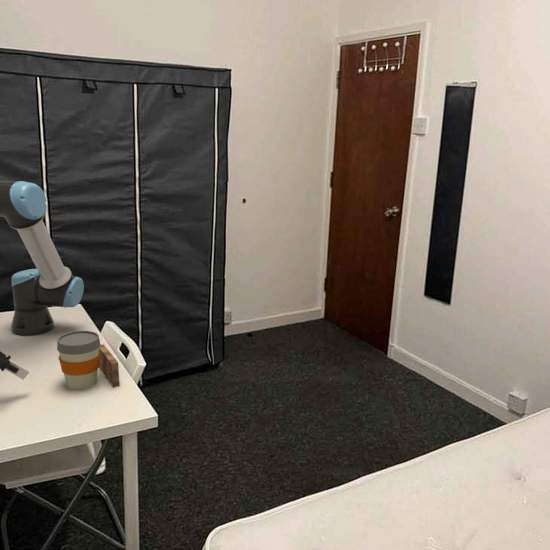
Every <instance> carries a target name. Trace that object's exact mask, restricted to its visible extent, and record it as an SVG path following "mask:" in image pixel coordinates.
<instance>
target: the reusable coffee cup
mask: <svg viewBox="0 0 550 550" xmlns="http://www.w3.org/2000/svg"><path fill="white" fill-rule="evenodd" d="M56 343H57V346H56V351H58V354H59V355H58V360H59V364H60V365H59V366H60V368H61V372H62V373H63V376H64V380H65V384H66V386H67V388H69V389H71V388H72V390H84V389H83V388H85V389H88V388H91V387H93V386H95V385H96V384H97V382H98V381H97V379H98V369H99V362H100V352H99V347H100V345H101V339H100V335H99V333H97V332H95V331H91V330H75V331H71V332H70V331H69V332H67V333H64V334H62V335H60V336H59V337H58V338H57V342H56ZM92 385H93V386H92ZM90 386H91V387H90ZM87 387H88V388H87Z"/></svg>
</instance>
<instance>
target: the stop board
mask: <svg viewBox="0 0 550 550" xmlns="http://www.w3.org/2000/svg"><path fill="white" fill-rule="evenodd" d="M99 352H100V362H99V368H98V369H99V370H100V372H101V373H102V374H103V375H105V376H104V377H105V379H106V380H107V381H108V382H109V384H110V385H111V387H112V388H117V387H120V372H119V371H120V370H119V362H118V360H117V359H116V358H115V356H114V355H113V354H112V353H111V351H110V350H109V349H108V348H107V347H106V346H105V344H104V343H102V344H100V347H99Z"/></svg>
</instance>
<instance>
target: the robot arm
mask: <svg viewBox="0 0 550 550" xmlns="http://www.w3.org/2000/svg"><path fill="white" fill-rule="evenodd" d="M45 194H46V193H45V192H44V190H43V189H42V188H41V187H40V186H39V185H38V184H36V183H33V182H28V181H23V180H21V181H20V180H19V181H13V180H12V181H11V180H9V181H8V180H0V217H3V218H4V219H5V220H6V222H7V224H8V225H9V227H10V228H12V229H14V230H16V231H17V233H18V234H19V237H20V239H21V240H22V242H23V245H24V246H25V248H26V251H27V252H28V253H29V255H30V258H31V260H32V262H33V264H34V266H35V267H36V268H31V269H26V270H25V269H24V270H21V271H18V272H16V273H14V274H13V275H12V276H11V285H10V286H11V290H12V299H13V306H14V307H13V308H14V314H13V317H12V321H11V324H10V325H11V326H10V328H11V332H12V334H15V335H18V336H36V335H40V334H44V333H48V332H51V330H53V329H54V327H55V323H54V319H53V316H52V315H51V312H50V310H49V308H48V306H50V307H57V308H65V309H66V308H74V307H75V308H76V307H77V306H78V305H79V304H80V302H81V300H82V298H83V294H84V289H85V285H84V280H83V279H82V278H81V277H79V276H74V275H73V273H72V271H71V268H69V267H67V266H64V264H63V262H62V259H61V256H60V255H59V253H58V251H57V249H56V247H55V244H54V242H53V240H52V238H51V236H50V233H49V232H48V229H47V227H46V225H45V222H44V221H43V219H44V218H45V214H46V212H47V207H48V205H47V197H46V195H45ZM11 358H12V356H11V355H8V356H7V354H5V353H4V352H2V351H1V350H0V371H1V372H4V370H5V371H7V372H9V373H11V374H13V375H14V376H16V377H17V378H19V379H20V380H22V381H23V380H25V378H26V377H27V376H28V375H29V374H30V371H29V369H27V368H25V367H24V366H22V365H20V364H18V363H17V362H15V361H13V360H12V359H11Z"/></svg>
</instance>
